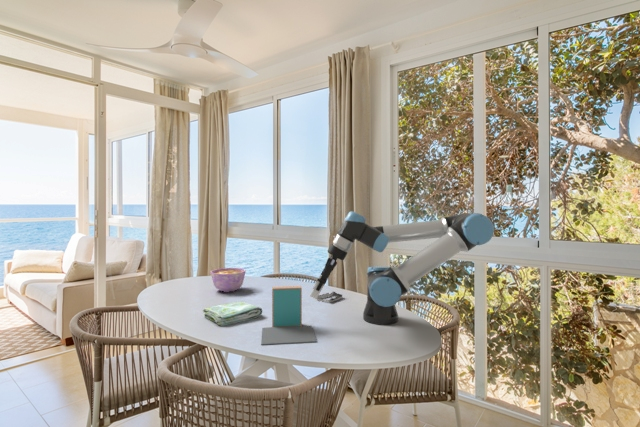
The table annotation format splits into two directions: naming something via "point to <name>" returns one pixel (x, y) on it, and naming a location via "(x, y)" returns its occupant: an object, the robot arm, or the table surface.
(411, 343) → the table surface
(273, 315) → the terracotta slab
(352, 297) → the table surface
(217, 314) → the towel
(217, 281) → the bowl of food
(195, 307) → the table surface
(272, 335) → the charcoal mat
